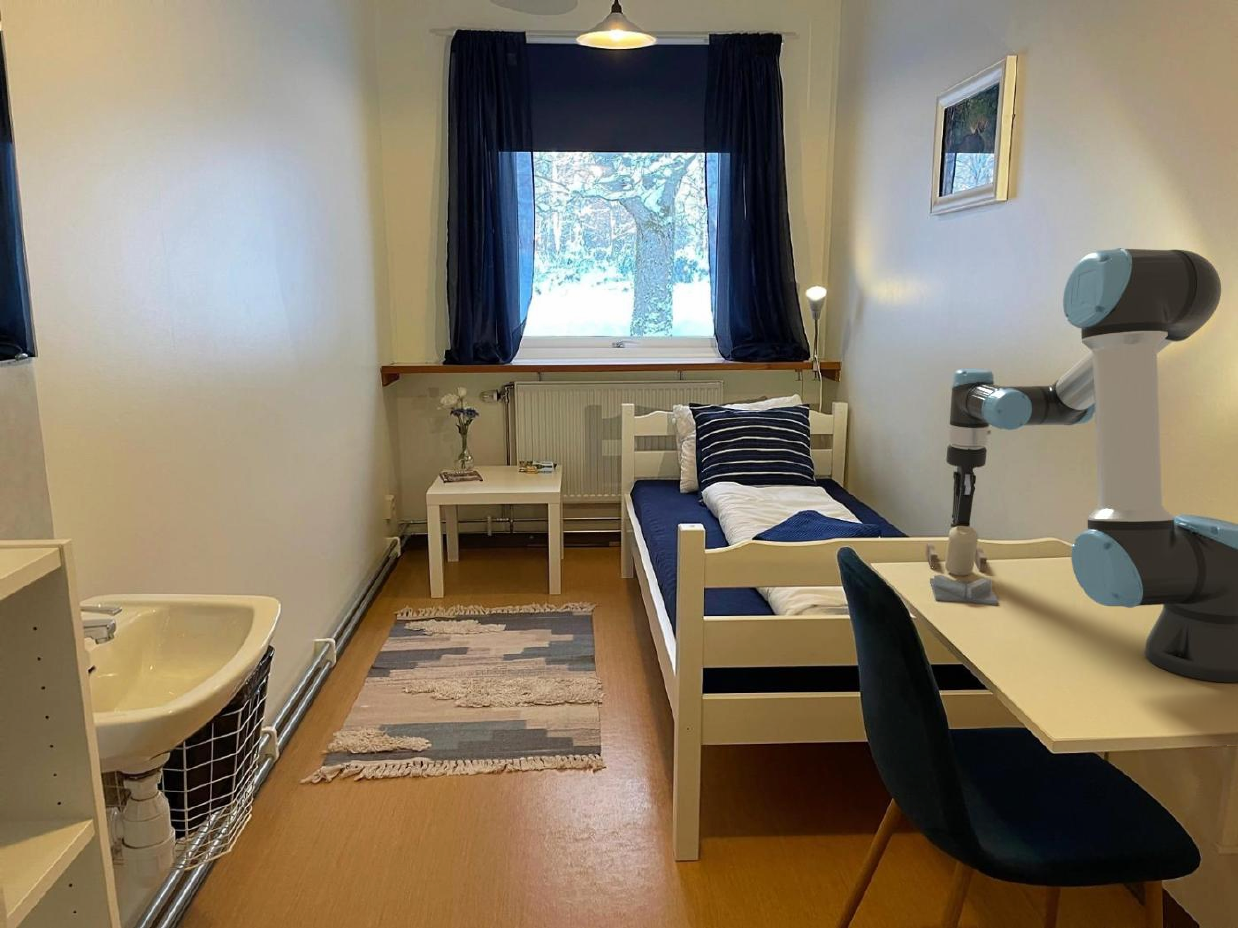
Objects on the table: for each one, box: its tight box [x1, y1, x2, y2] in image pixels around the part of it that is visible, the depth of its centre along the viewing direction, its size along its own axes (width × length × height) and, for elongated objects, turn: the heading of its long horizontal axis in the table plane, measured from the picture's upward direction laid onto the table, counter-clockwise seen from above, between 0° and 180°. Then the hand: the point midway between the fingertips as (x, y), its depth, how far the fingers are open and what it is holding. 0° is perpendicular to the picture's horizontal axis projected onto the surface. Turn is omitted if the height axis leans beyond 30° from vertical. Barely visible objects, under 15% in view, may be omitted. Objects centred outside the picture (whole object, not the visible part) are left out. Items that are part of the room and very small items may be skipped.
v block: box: [929, 574, 999, 606], centre depth 181 cm, size 11×11×3 cm
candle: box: [944, 526, 979, 577], centre depth 191 cm, size 6×6×10 cm
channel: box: [925, 541, 988, 573], centre depth 200 cm, size 10×11×3 cm
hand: (957, 556), depth 196 cm, fingers closed
